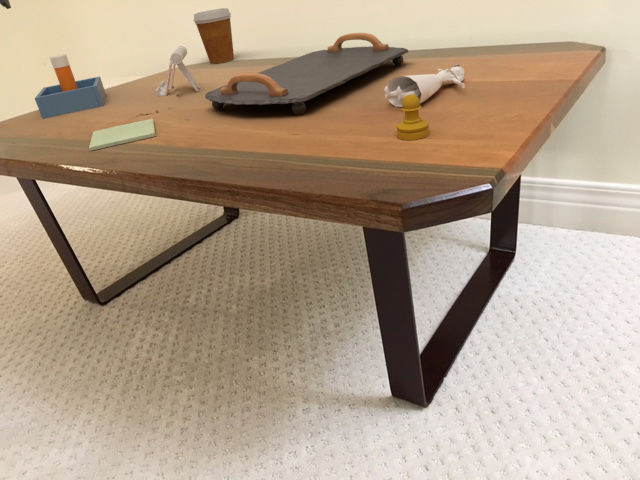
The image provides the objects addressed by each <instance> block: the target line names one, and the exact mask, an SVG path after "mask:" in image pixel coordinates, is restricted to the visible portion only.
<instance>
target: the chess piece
mask: <svg viewBox="0 0 640 480" xmlns="http://www.w3.org/2000/svg"><path fill="white" fill-rule="evenodd" d="M420 109H422V106H421V104H420V100H419V98H418V97H417V96H416V95H413V94H409V95H407V96H405V97H404V99H403V101H402V106H401V109H400V110H401V111H403V112H404V118H403V119H402V121H401V122H399V123H397V124H396V126H395V128H396V136H397V138H398V139H399V140H402V141H414V140H420V139H424V138H426V137H428V136H429V135H430V127H429V121H428V120H425V119H422V117H420V113H419V110H420Z"/></svg>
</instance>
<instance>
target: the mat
mask: <svg viewBox="0 0 640 480" xmlns="http://www.w3.org/2000/svg"><path fill="white" fill-rule="evenodd" d="M156 136H157V135H156V126H155V120H154V118H148V119H144V120H140V121H139V120H138V121H135V122H130V123H126V124H121V125H117V126H111V127H107V128H103V129H98V130H93V131H92V134H91V139H90V142H89V146H88V150H89V152H92V151H97V150H102V149H105V148H110V147H114V146H119V145H124V144H127V143H128V144H129V143H132V142H133V143H134V142H136V141H142V140H147V139H150V138H155V137H156Z"/></svg>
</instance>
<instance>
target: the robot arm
mask: <svg viewBox="0 0 640 480" xmlns="http://www.w3.org/2000/svg"><path fill="white" fill-rule="evenodd" d="M0 5H1V6H2V7H3V8H5V9H7V10H9V9H12V5H11V3H10V0H0Z"/></svg>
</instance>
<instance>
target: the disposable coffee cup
mask: <svg viewBox="0 0 640 480" xmlns="http://www.w3.org/2000/svg"><path fill="white" fill-rule="evenodd" d="M231 15H232V13H231V12H230V10H229V8H228V7H223V8H216V9H209V10H204V11H200V12H196V13H193V20H192V21H193V22H194V24H195V25H196V28H197V31H198V33H199V36H200V39H201V42H202V44H203V47H204V50H205V53H206V55H207V58H208V61H209V64H212V65H217V64H223V63H227V62H231V61H234V59H235V54H234V42H233V33H232V24H231V23H232V22H231Z"/></svg>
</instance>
